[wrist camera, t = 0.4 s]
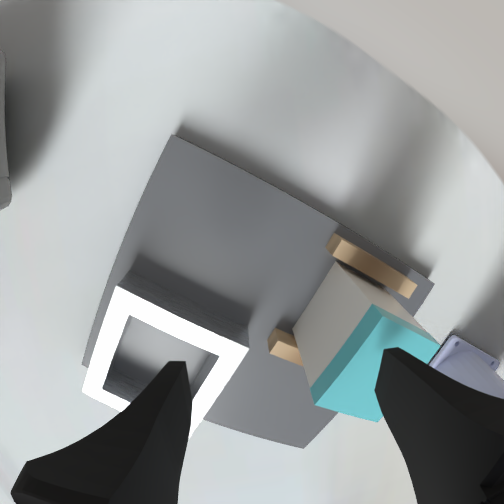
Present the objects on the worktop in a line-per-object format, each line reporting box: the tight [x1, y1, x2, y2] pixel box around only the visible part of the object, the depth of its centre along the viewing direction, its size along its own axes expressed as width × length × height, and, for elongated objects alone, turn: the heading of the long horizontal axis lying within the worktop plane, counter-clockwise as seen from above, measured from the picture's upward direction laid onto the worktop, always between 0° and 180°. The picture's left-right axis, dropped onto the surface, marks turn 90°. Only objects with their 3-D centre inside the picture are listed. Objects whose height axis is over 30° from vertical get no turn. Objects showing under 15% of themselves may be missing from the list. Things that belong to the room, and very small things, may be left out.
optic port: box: [82, 270, 250, 439], centre depth 19 cm, size 8×9×2 cm
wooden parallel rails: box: [267, 233, 417, 367], centre depth 19 cm, size 6×8×2 cm
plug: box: [292, 261, 441, 422], centre depth 16 cm, size 4×5×7 cm
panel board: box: [82, 135, 434, 449], centre depth 20 cm, size 19×17×1 cm
